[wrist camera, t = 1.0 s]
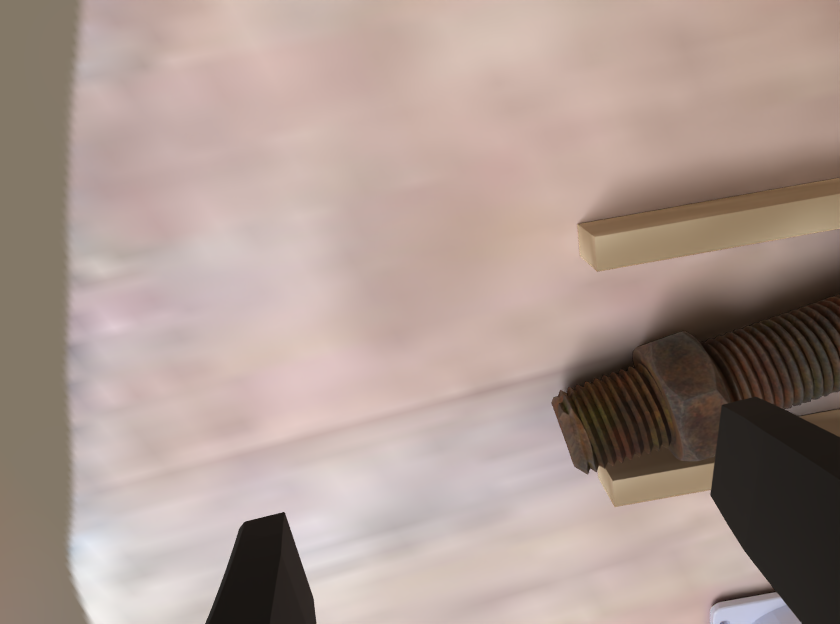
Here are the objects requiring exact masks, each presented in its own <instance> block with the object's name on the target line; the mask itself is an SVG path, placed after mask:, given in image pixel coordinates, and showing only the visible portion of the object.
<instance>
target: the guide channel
mask: <svg viewBox="0 0 840 624" xmlns="http://www.w3.org/2000/svg"><path fill="white" fill-rule="evenodd" d="M577 227H578V239H579V251H580V257H581V258H583V259H584V260H585V261H586V262H587V263H588V264H589V265H590V266H592V267H593V268H594V269H595V270H596V271H597V272H598V271H604V270H610V269H615V268H621V267H626V266H632V265H638V264H643V263H649V262H655V261H660V260H666V259H672V258H677V257H683V256H688V255H694V254H700V253H705V252H711V251H717V250H722V249H728V248H734V247H739V246H745V245H750V244H756V243H762V242H767V241H773V240H779V239H784V238H790V237H796V236H801V235H807V234H812V233H818V232H824V231H829V230H835V229H840V178H835V179H830V180H824V181H818V182H813V183H807V184H801V185H796V186H790V187H784V188H779V189H773V190H768V191H762V192H756V193H751V194H745V195H739V196H734V197H728V198H722V199H717V200H711V201H705V202H700V203H694V204H688V205H683V206H677V207H672V208H666V209H660V210H655V211H649V212H643V213H638V214H632V215H626V216H621V217H615V218H609V219H604V220H598V221H593V222H587V223H581V224H577ZM799 417H800V418H802V419H804V420H806V421H808V422H811V423H813V424H815V425H817V426H819V427H821V428H823V429H825V430H827V431H829V432H831V433H833V434H835V435H837V436H839V437H840V409H838V410H832V411H827V412H821V413H815V414H810V415H804V416H799ZM714 462H715V456H713V457H710V458H707V459H704V460H701V461H689V462H688V461H681V460H679V459H677V458H676V457H675V456H674V455H673V454H672V452H671V451H670V450H669V448H668V449H667V448H666V447H664V446H663V445H661V447H660V450H659V452H658V451H657V450H655V449H654V448H652V451H651V454H648V453H646V452H645V451H643V453H642V455H641V458H640V457H639V456H637V455H636V454H634V456H633V459H632V460H630V459H628V458H627V457H625V459H624V462H623V463H621V462H620V461H618V460H616V462H615V465H614V466H612V465H611V464H610V463H607V465H606V468H605V469H604V468H602V467H601V466H599V467H598V478H599V480H600V481H601V483H602V485H603V487H604V489H605V490H606V492H607V494H608V496H609V498H610V499H611V501H612V503H613V505H614V507H618V506H623V505H629V504H635V503H640V502H646V501H651V500H657V499H663V498H668V497H674V496H679V495H685V494H691V493H696V492H702V491H707V490H711V486H712V478H713V470H714Z"/></svg>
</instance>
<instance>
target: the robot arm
mask: <svg viewBox="0 0 840 624" xmlns="http://www.w3.org/2000/svg"><path fill="white" fill-rule="evenodd" d="M710 495H711V497H712V499H713V500H714V502H715V504H716V505H717V507H718V509H719V510H720V512H721V514H722V516H723V517H724V519H725V521H726V522H727V524H728V526H729V527H730V529H731V530H732V532H733V534H734V535H735V537H736V538H737V540H738V541H739V543H740V545H741V546H742V548H743V549H744V551H745V552H746V553H747V555H748V556H749V557H750V559H751V560H752V561H753V563H754V564H755V565H756V566H757V568H758V569H759V570H760V572H761V573H762V574H763V575H764V577H765V578H766V579H767V580H768V582H769V583H770V584H771V586H772V587H773V588H774V589H775V591H776V592H774V593H768V594H763V595H757V596H751V597H746V598H740V599H735V600H729V601H723V602H719V603H716V604H715V605H713V607H712V608H711V610H710V624H840V437H839V436H837V435H835V434H833V433H831V432H829V431H827V430H825V429H823V428H821V427H819V426H817V425H815V424H813V423H811V422H808V421H806V420H804V419H802V418H800V417H798V416H796V415H794V414H792V413H790V412H788V411H786V410H784V409H782V408H780V407H778V406H776V405H774V404H771V403H769V402H767V401H765V400H763V399H760V398H758V397H752V398H748V399H744V400H740V401H736V402H732V403H727V404H723V405H722V406H721V414H720V422H719V430H718V438H717V446H716V454H715V462H714V470H713V478H712V486H711V494H710ZM722 621H723V622H722ZM205 624H316V616H315V608H314V599H313V596H312V593H311V590H310V587H309V584H308V581H307V578H306V575H305V572H304V569H303V566H302V563H301V560H300V557H299V554H298V551H297V548H296V545H295V542H294V539H293V536H292V533H291V530H290V527H289V524H288V521H287V518H286V515H285V512H283V513H278V514H274V515H270V516H266V517H262V518H258V519H254V520H250V521H246V522H244V523H243V525H242V526H241V527H240V529H239V531H238V535H237V538H236V541H235V544H234V547H233V550H232V553H231V556H230V559H229V562H228V565H227V568H226V571H225V574H224V577H223V579H222V582H221V585H220V587H219V590H218V593H217V595H216V598H215V601H214V603H213V606H212V609H211V611H210V614H209V616H208V618H207V621H206V623H205Z"/></svg>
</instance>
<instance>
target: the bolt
mask: <svg viewBox="0 0 840 624" xmlns="http://www.w3.org/2000/svg"><path fill="white" fill-rule="evenodd" d="M633 362H634V367H635V368H633V367H628V371H627V372H626V371H624V370H622V369H621V370H620V371H619V375H618V374H616V373H613V372H612V373H611V375H610V377H608V376H606V375H603V377H602V381H601V380H599V379H597V378H594V382H593V384H592V383H589V382H586V381H585V385H584V387H582V386H579V385H576V389H575V390H574V389H572V388H570V387H569V388H568V391H567V393H565V392H563V391H562V390H560V392H559V395H558V396H557V397H554V398H553V400H552V406H553V408H554V411H555V414H556V417H557V419H558V422H559V425H560V428H561V430H562V433H563V436H564V439H565V441H566V444H567V447H568V450H569V453H570V456H571V459H572V462H573V464H574V466H575V467H576V468H578V469H579V470H581V471H583V472H584V473H586V474H588V473H589V470H590V468H591V469H592V470H594V471H595V472H597V470H598V467H599V466H601V467H602V468H604V469H605V468H606V465H607V463H610V464H611V465H612V466H614V465H615V462H616V460H618V461H620V462H621V463H623V462H624V459H625V457H627V458H628V459H630V460H632V459H633V456H634V454H636V455H637V456H639V457H640V458H641V455H642V453H643V451H645V452H646V453H648V454H651V451H652V448H654V449H655V450H657V451H658V452H659V450H660V447H661V445H663V446H664V447H666V448H667V449H668V448H669V450H670V451H671V452H672V454H673V455H674V456H675V457H676V458H677V459H679V460H681V461H688V462H689V461H701V460H704V459H707V458H710V457H713V456H715V454H716V446H717V438H718V430H719V422H720V414H721V406H722V405H723V404H727V403H732V402H736V401H740V400H744V399H748V398H752V397H758V398H760V399H763V400H765V401H767V402H769V403H771V404H774V405H776V406H778V407H780V408H782V409H783V408H784V409H788V408H791V407H792V405H793V406H797V405H801V403H806V402H810V401H811V399H812V400H814V399H819V398H820V397H821V396H827V395H829V394H830V393H834V392H838V391H840V294H838V295H836V296H834V297H829V298H826V299H824V300H820V301H818V302H816V303H815V304H809V305H807V306H806V307H801V308H799V309H797V310H792V311H790V312H788V313H782V314H780V315H779V316H776V317H772V318H770V319H769V320H762V321H761V322H760V323H754V324H752V325H751V326H745V327H744V328H742V329H737V330H734V331H733V332H727V333H726V334H724V335H723V336H721V335H718V336H717V337H716V338H715V339H708V340H707V341H706V343H705V342H699V341H698V340H697V339H696V338H695V337H694V336H693V335H691V334H690V333H687V332H685V331H682V332H679V333H676V334H673V335H670V336H667V337H665V338H662V339H659V340H656V341H653V342H650V343H647V344H645V345H642V346H639V347H637V348H635V350H634V351H633Z"/></svg>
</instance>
